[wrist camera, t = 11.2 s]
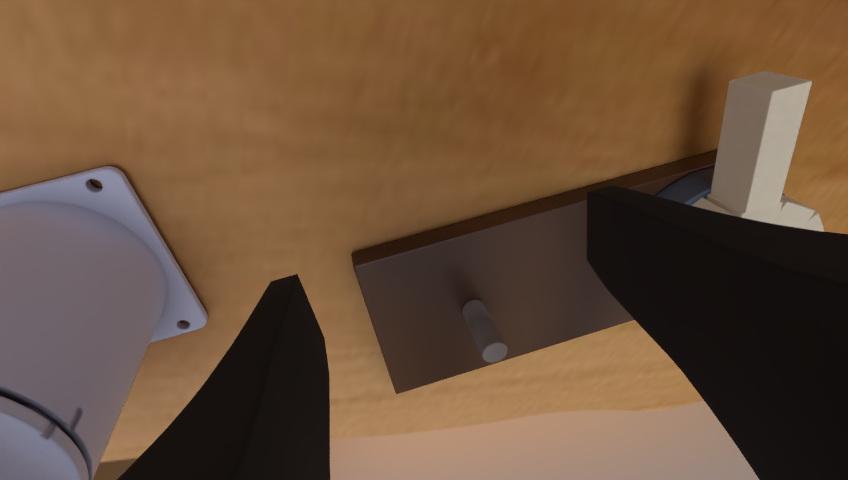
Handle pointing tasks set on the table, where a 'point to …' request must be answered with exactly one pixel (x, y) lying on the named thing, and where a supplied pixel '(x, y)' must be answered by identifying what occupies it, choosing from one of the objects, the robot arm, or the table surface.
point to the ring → (760, 151)
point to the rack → (500, 281)
